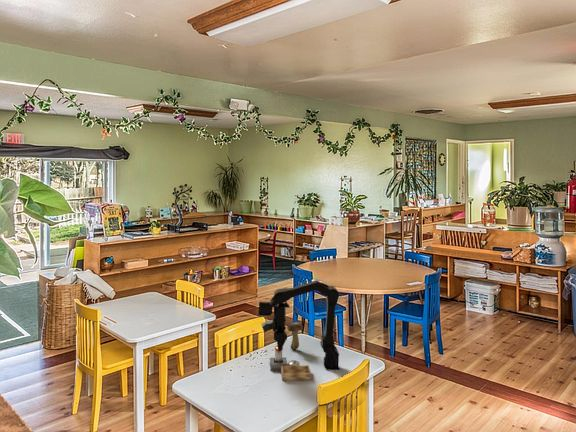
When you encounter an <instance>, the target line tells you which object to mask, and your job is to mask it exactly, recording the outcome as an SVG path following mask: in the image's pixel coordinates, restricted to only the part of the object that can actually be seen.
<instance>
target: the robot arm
mask: <svg viewBox="0 0 576 432" xmlns="http://www.w3.org/2000/svg"><path fill="white" fill-rule="evenodd" d="M314 291H317V292H319V293H321V294H322V295H324V296H325V300H326V314H325V315H326V316H325V328H324V334H321V335H320V342H319V343H320V346H321V348H322V350H323V352H324V356H323V367H324V368H325V370H328V371H330V370H340V366H339V357H340V353H339V351H338V348H337V347H336V346H335V345H336V344H335V339H334V338H335V337H334V327H335V316H336V315H335V314H336V306H337V305H338V300H339V296H340V293H339V291H338V289H337V288H336V287H335V286H333V285H328V284H326V283H323V282H321V281H320V280H318V279H316V280H313V281H311V282H307V283H303V284H301V285H297V286H293V287H289V288H288V287H284V288H277V289H276V290H275V291H274V292H273V296H272V297H271V299H270V300H269V301H258V309H257V310H258V317H271V315H273V317H272V319H271V320H267V321H264V322H262V323H261V327H262V330H263V333H267V332H268V331H271V330H272V331H273V340H274V341H275V342H276V346H278V351H281V349H282V347H283V348H284V345H285V343H286V341H287V340H288V333H287V331H285V330H286V329H287V327H286V321H287V318H286V313H287V312H286V309H288V308H290V307H291V306H290V303H288V301H290V300H291V299H293V298H294V297H297V296H302V295H304V294H308V293H312V292H314Z"/></svg>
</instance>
